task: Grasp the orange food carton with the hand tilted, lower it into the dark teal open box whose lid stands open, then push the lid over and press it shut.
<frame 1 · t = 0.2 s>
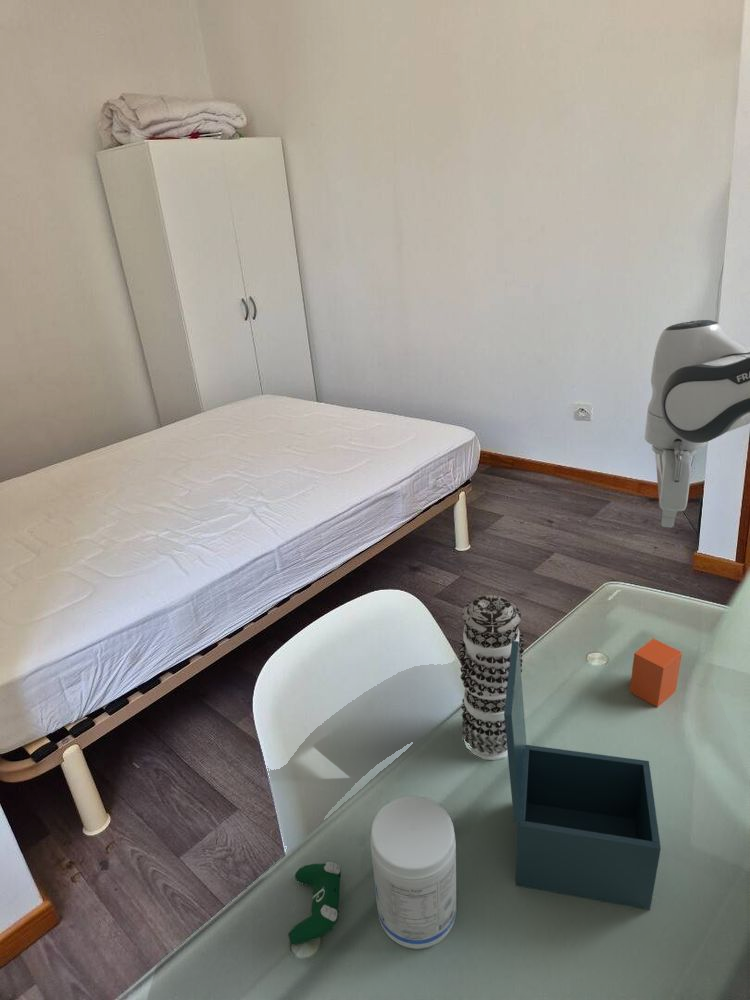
hand: (665, 512, 109), 28 cm above the table, tool pointing down, fingers open, 8 cm apart
dark teal open box: (580, 851, 88), on the table
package: (652, 691, 113), on the table
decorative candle: (490, 739, 106), on the table
supplement tub: (417, 913, 82), on the table
freezer lid: (516, 729, 82), point 19 cm above the table, hinge at 95.0°
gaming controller: (317, 909, 84), on the table
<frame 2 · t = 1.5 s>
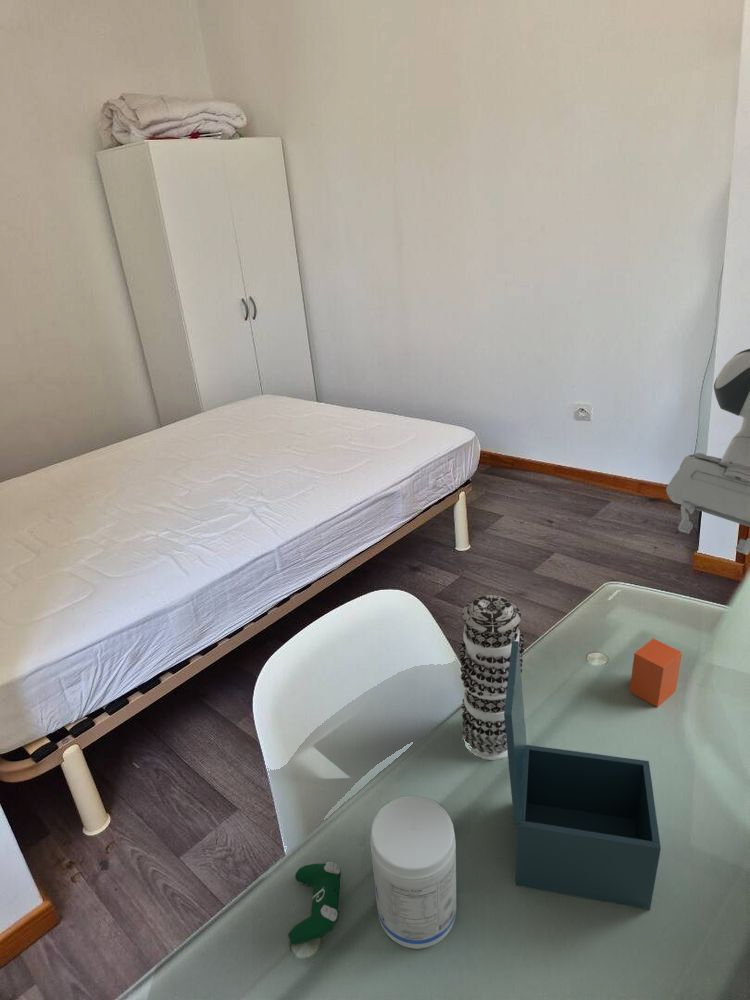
hand: (711, 541, 109), 23 cm above the table, tool tilted 45°, fingers open, 8 cm apart
nothing on the table moved.
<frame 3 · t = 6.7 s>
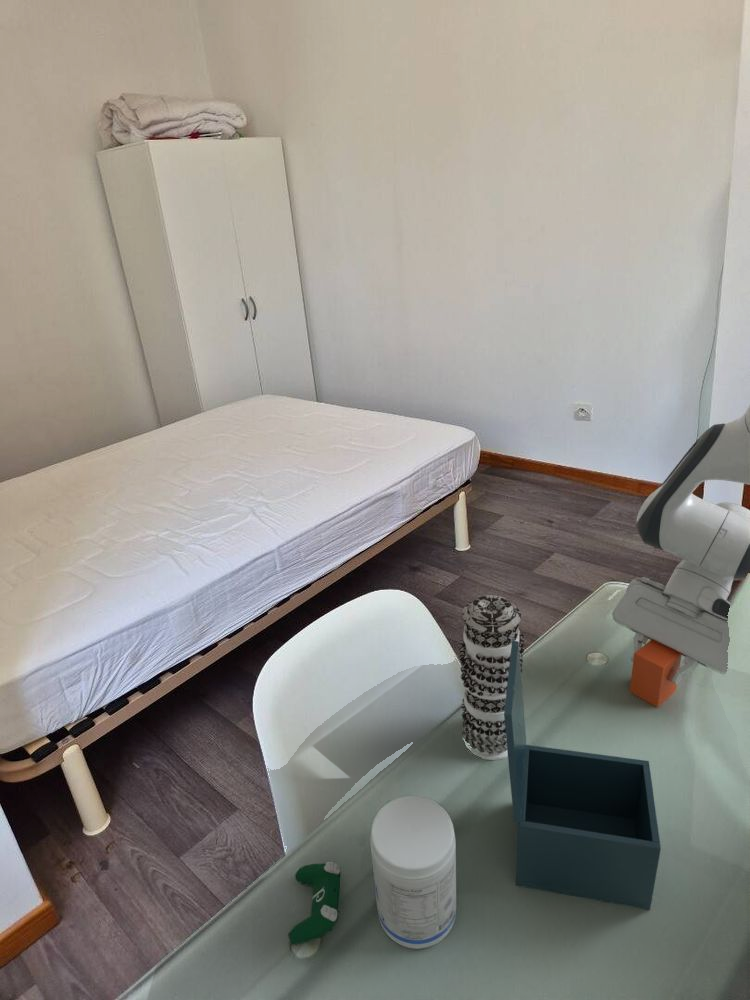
hand: (653, 672, 110), 4 cm above the table, tool tilted 45°, fingers closed on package, 5 cm apart
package: (652, 691, 113), on the table, touching gripper
everything else where it was.
when the fingers open (9 cm above the table, at t = 17.3 s): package drops 3 cm, point 2 cm above the table.
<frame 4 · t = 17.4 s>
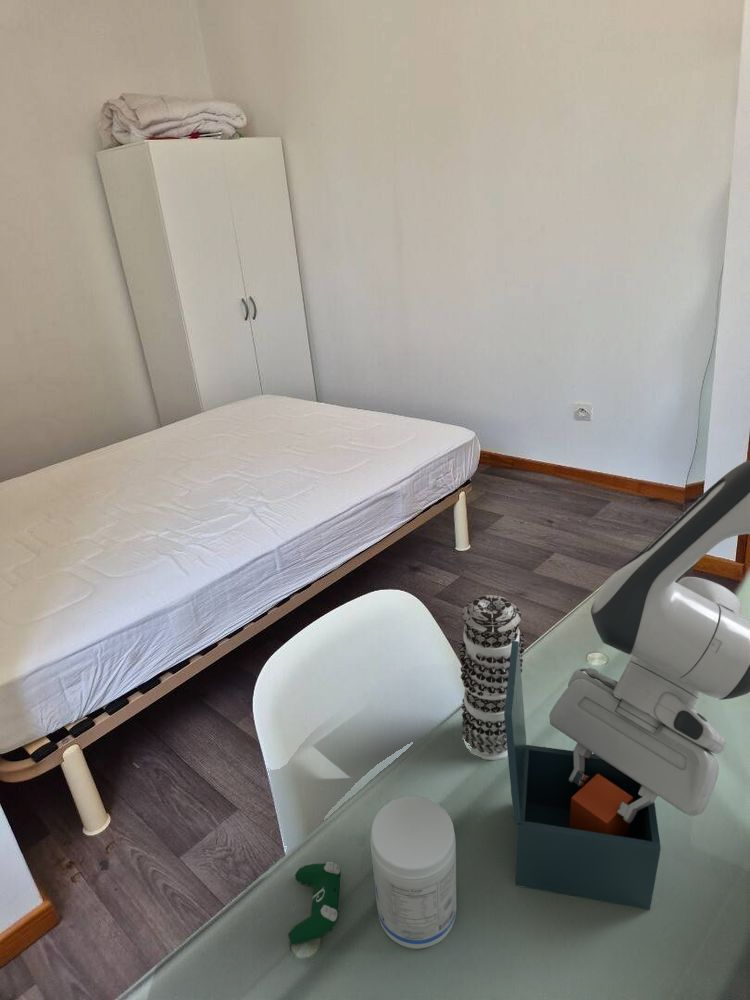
hand: (598, 801, 84), 9 cm above the table, tool tilted 45°, fingers open, 5 cm apart
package: (597, 841, 87), point 2 cm above the table
everything else where it was.
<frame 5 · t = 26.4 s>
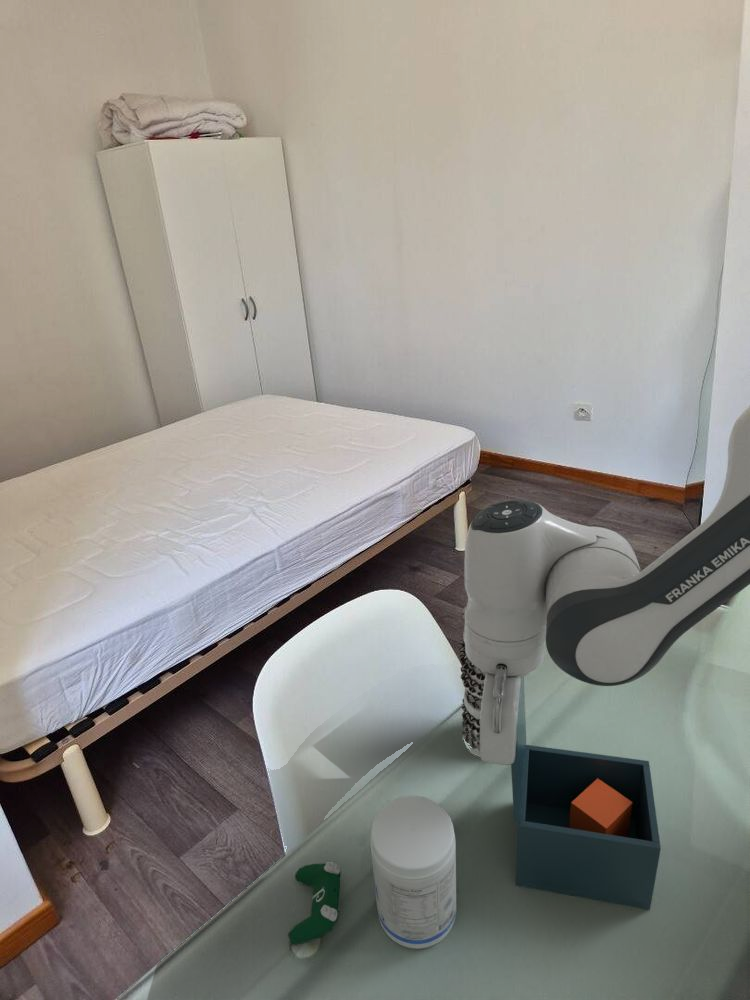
hand: (503, 731, 82), 19 cm above the table, tool pointing down, fingers closed, pressing on freezer lid
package: (596, 846, 88), point 1 cm above the table, touching dark teal open box
freezer lid: (518, 729, 82), point 19 cm above the table, hinge at 93.3°, touching gripper
everything else where it was.
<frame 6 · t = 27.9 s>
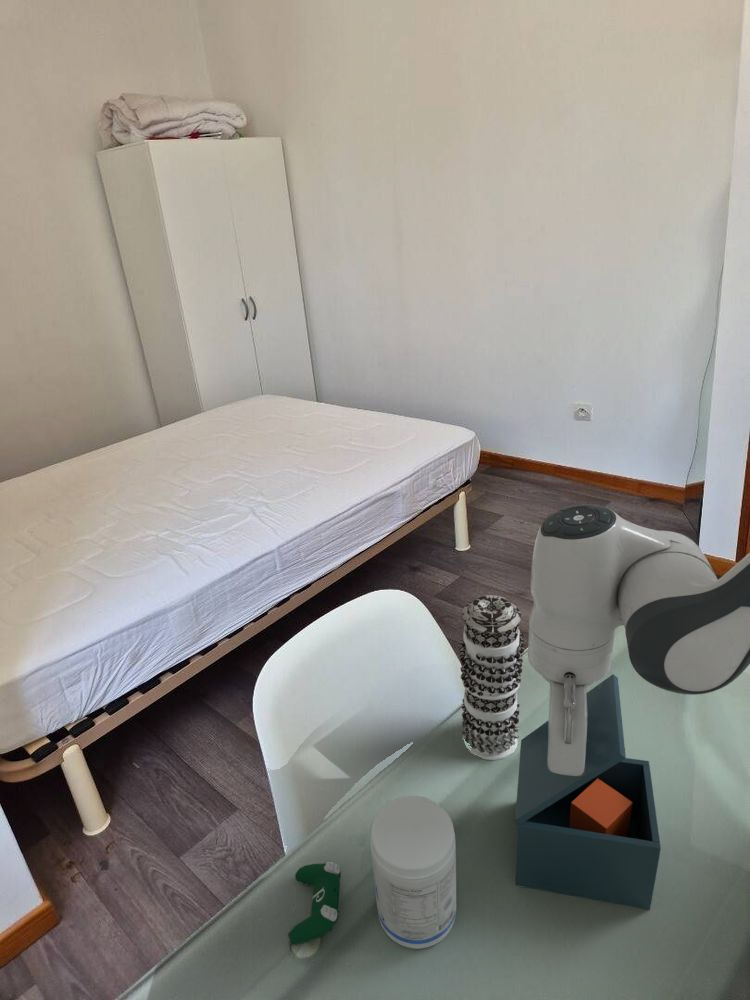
hand: (563, 740, 81), 19 cm above the table, tool pointing down, fingers closed, pressing on freezer lid
freezer lid: (567, 747, 81), point 18 cm above the table, hinge at 50.2°, touching gripper
everything else where it was.
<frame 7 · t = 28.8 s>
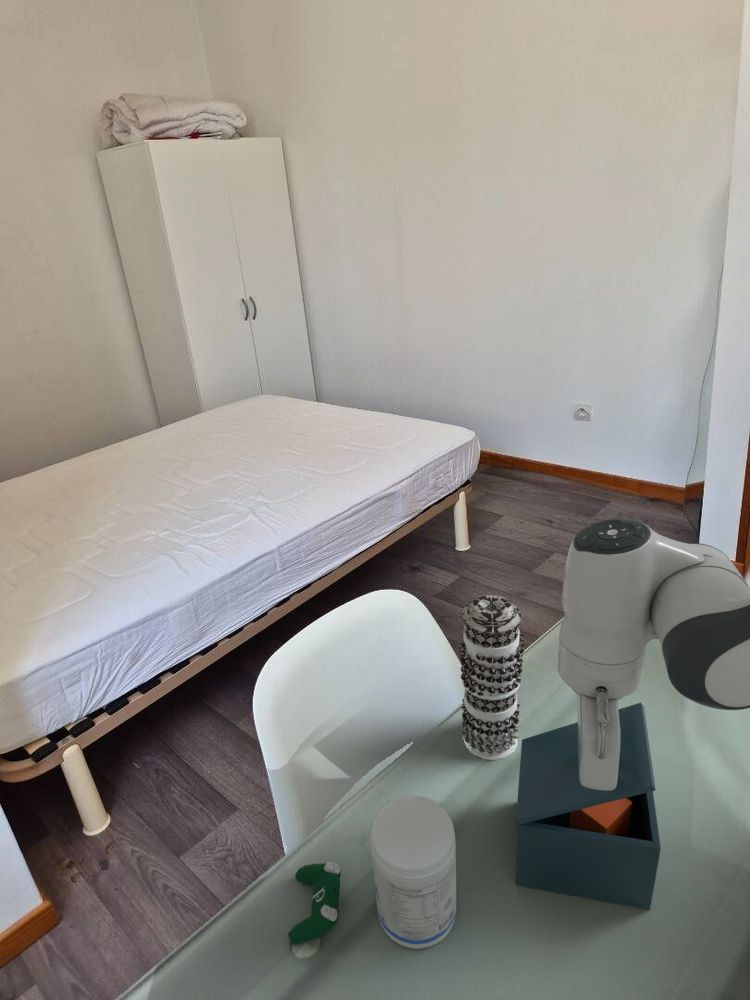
hand: (591, 753, 80), 17 cm above the table, tool pointing down, fingers closed, pressing on freezer lid
freezer lid: (581, 762, 81), point 16 cm above the table, hinge at 31.8°, touching gripper
everything else where it was.
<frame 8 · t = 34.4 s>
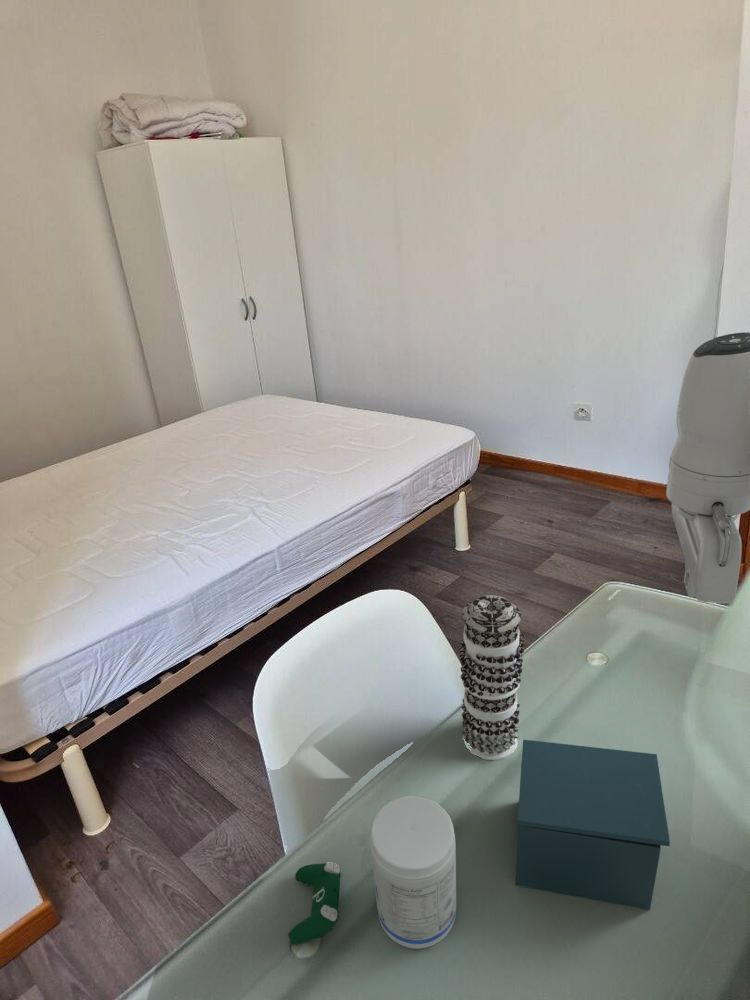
hand: (693, 590, 81), 33 cm above the table, tool pointing down, fingers closed
freezer lid: (589, 788, 83), point 11 cm above the table, hinge at 1.7°
everything else where it was.
at the end: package inside the target area in the dark teal open box (2.1 cm from its centre), point 0.8 cm above the dark teal open box's base; freezer lid at +2° (first picture: +95°) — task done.
